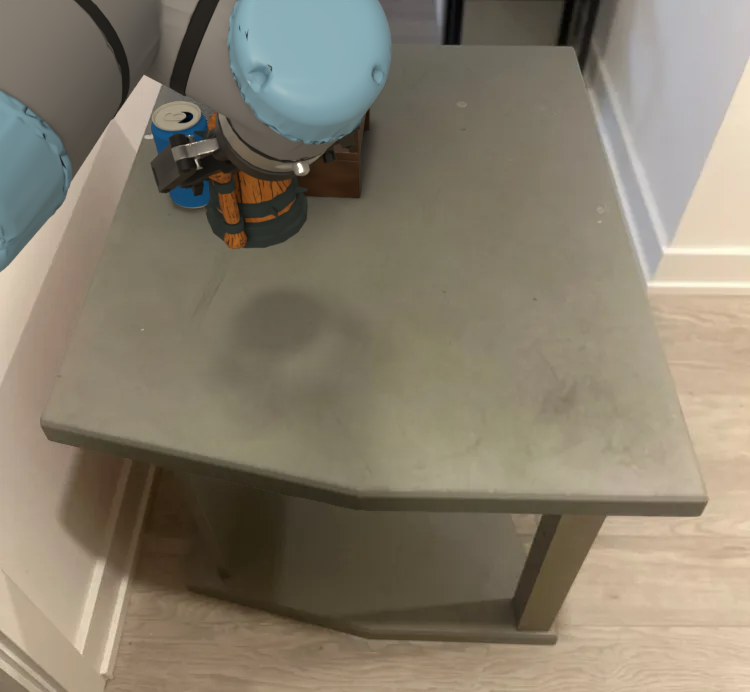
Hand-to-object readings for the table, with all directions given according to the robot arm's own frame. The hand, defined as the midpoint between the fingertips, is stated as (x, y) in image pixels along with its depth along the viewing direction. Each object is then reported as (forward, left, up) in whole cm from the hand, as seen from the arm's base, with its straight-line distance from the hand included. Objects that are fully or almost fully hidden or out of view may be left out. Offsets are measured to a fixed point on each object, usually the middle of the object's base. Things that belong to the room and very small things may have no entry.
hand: (248, 168), depth 69 cm
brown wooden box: (0, +26, -19) cm, 32 cm away
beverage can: (-13, +17, -19) cm, 29 cm away
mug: (+1, -3, -4) cm, 5 cm away
